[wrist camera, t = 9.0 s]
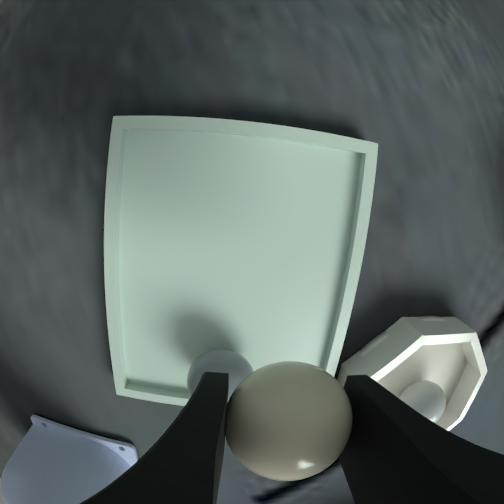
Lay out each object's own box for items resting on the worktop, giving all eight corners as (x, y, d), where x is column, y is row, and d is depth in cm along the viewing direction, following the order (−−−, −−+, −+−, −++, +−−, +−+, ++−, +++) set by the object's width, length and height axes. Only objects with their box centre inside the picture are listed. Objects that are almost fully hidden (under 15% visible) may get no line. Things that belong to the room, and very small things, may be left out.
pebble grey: (381, 414, 17) (404, 446, 14) (397, 374, 17) (425, 405, 13) (418, 405, 18) (442, 432, 15) (434, 367, 17) (463, 393, 14)
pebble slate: (191, 383, 16) (183, 424, 13) (192, 333, 15) (182, 370, 12) (250, 389, 16) (253, 430, 13) (257, 339, 16) (262, 377, 12)
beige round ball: (223, 419, 9) (219, 501, 6) (229, 334, 8) (224, 419, 5) (321, 421, 9) (345, 496, 6) (345, 339, 9) (390, 414, 5)
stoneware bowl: (312, 448, 19) (318, 472, 16) (353, 314, 16) (369, 334, 14) (432, 430, 20) (444, 448, 17) (484, 314, 17) (505, 328, 15)
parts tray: (122, 382, 17) (116, 394, 16) (122, 120, 13) (113, 116, 12) (318, 400, 18) (322, 412, 16) (368, 145, 14) (378, 143, 13)
